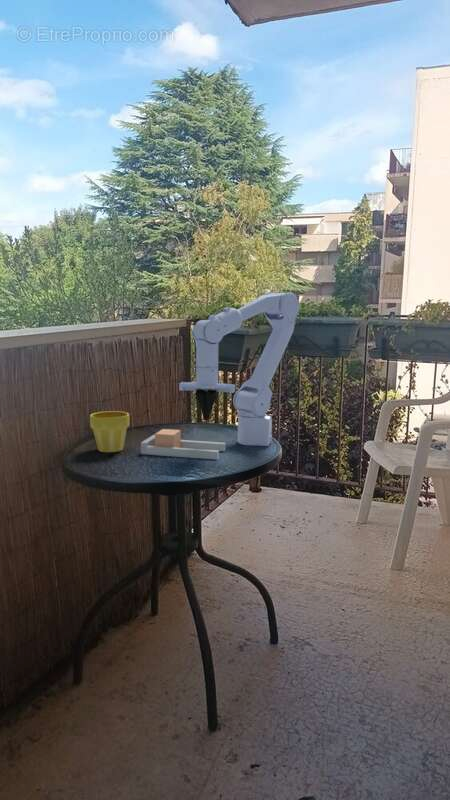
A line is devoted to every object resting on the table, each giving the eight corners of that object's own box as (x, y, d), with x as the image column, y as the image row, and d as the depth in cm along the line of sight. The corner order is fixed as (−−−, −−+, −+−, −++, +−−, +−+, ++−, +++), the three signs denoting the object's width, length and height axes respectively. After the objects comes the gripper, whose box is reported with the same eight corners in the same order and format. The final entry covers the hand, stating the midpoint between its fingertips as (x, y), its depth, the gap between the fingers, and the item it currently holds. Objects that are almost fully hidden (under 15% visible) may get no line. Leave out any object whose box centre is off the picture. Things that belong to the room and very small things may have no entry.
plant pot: (88, 446, 147) (87, 411, 145) (125, 443, 151) (125, 409, 149) (93, 456, 137) (92, 418, 136) (133, 452, 141) (132, 416, 139)
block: (180, 448, 142) (180, 430, 141) (173, 454, 136) (173, 435, 135) (162, 447, 143) (162, 428, 142) (155, 452, 137) (155, 433, 136)
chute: (227, 451, 143) (227, 437, 143) (215, 466, 130) (215, 450, 129) (156, 446, 147) (156, 432, 147) (137, 460, 134) (137, 444, 133)
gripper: (175, 367, 135) (175, 419, 138) (231, 369, 132) (230, 423, 135) (183, 364, 142) (183, 414, 144) (236, 366, 139) (236, 417, 141)
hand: (206, 418), depth 140 cm, fingers closed
